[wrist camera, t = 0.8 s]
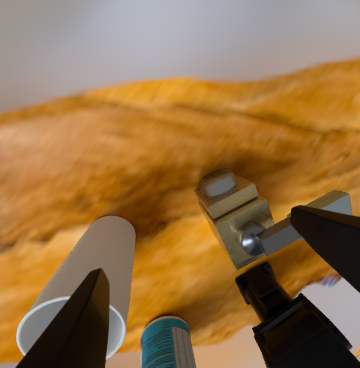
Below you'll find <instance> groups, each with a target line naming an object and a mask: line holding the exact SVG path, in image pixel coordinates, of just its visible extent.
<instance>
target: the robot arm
mask: <svg viewBox="0 0 360 368" xmlns="http://www.w3.org/2000/svg"><path fill="white" fill-rule="evenodd" d="M290 223H291V225H292V227H293V228H294V229H295V230H296V231H297V232H298V233H299V234H300V235H301V236H302V238H303V239H304V240H305V241H306V242H307V243H308V244H309V245H310V246H311V247H312V248H313V249H314V250H315V252H316V253H317V254H319V255H320V256H321V257H322V258H323V259H324V260H325V261H326V262H327V263H328V264H329V265H330V266H331V267H332V268H333V269H335V270H336V271H337V272H338V273H339V274H340V275H341V276H342V277H343V278H344V279H345V280H346V281H348V282H349V283H350V284H351V285H352V286H353V287H354V288H355V289H356V290H357V291H358V292H360V217H357V216H352V215H347V214H342V213H337V212H333V211H328V210H323V209H318V208H313V207H308V206H303V205H299V206H295V207H293V208H292V209H291V216H290ZM235 282H236V284H237V286H238V288H239V290H240V292H241V294H242V296H243V298H244V300H245V302H246V303H247V304H248V305H249V304H251V306H252V307H253V309H254V311H255V312H256V314H257V316H258V317H259V319H260V321H261V323H260V324H259V325H257V326H256V327H255V326H254V327H253V328H252V330H253V332H254V334H255V335H254V338H255V340H256V342H257V344H258V346H259V348H260V350H261V352H262V355H263V358H264V361H265V364H266V367H267V368H360V362H359V361H358V360H357V359H356V357H355V356H354V355H353V354H352V353H351V352H350V351H349V350H350V349H351V348H352V345H351V344H350V343H349V341H348V340H347V339H346V338H345V336H344V335H343V334H342V333H341V332H340V331H339V330H338V328H337V327H336V326H335V325H334V324H333V323H332V322H331V321H330V320H329V319H328V318H327V317H326V316H325V315H324V314H323V313H322V312H321V311H320V310H319V309H318V308H317V307H316V306H315V305H313V304H312V303H311V302H310V301H309V300H308V299H307V298H306V297H305V296H304V295H303V294H302V293H300V294H299V295H298V297H296V298H295V299H292V298H291V297H290V295H289V294H288V293H287V292H286V291H285V290H284V289H283V287H282V286H281V285H280V284H279V283H278V282H277V281H276V278H275V275H274V273H273V270H272V267H271V265H270V264H269V263H268V262H266V263H264V264H262V265H260V266H258V267H257V268H255V269H253V270H251V271H249V272H247V273H245V274H244V275H242V276H240V277H238V278H236V280H235ZM109 308H110V284H109V280H108V278H107V276H106V274H105V272H104V270H103V269H102V268H98V269H95V270H92V271H90V272H89V273H88V275H87V276H86V277H85V279H84V280H83V281H82V282H81V284H80V285H79V286H78V288H77V289H76V290H75V291H74V293H73V294H72V295H71V297H70V298H69V299H68V300H67V302H66V303H65V304H64V306H63V307H62V308H61V310H60V311H59V312H58V313H57V315H56V316H55V317H54V319H53V320H52V321H51V322H50V324H49V325H48V326H47V328H46V329H45V330H44V331H43V333H42V334H41V335H40V337H39V338H38V339H37V340H36V342H35V343H34V344H33V346H32V347H31V348H30V350H29V351H28V352H27V353H26V355H25V356H24V357H23V359H22V360H21V361H20V362H19V364H18V365H17V366H16V368H105V363H106V354H107V345H108V336H109Z"/></svg>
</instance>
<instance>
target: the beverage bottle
mask: <svg viewBox="0 0 360 368" xmlns="http://www.w3.org/2000/svg"><path fill="white" fill-rule="evenodd" d="M141 368H196V364H195V359H194V354H193V349H192V344H191V339H190V332H189V327H188V325H187V323H186V322H185V321H184V320H183V319H181V318H179V317H177V316H163V317H159V318H157V319H155V320H153V321H152V322H150V323H149V324H148V325H147V326H146V327H145V329H144V331H143V333H142V336H141Z"/></svg>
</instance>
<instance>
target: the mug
mask: <svg viewBox="0 0 360 368" xmlns="http://www.w3.org/2000/svg"><path fill="white" fill-rule="evenodd" d="M135 240H136V233H135V230H134V227H133V226H132V224H131V223H130V222H129V221H127V220H126V219H124V218H122V217H118V216H105V217H101V218H99V219H97V220H96V221H94V222H93V223H92V224H91V225H90V227H89V228H88V229H87V231H86V232H85V233H84V235H83V236H82V237H81V239H80V240H79V241H78V243H77V244H76V246H75V247H74V248H73V250H72V251H71V252H70V254H69V255H68V257H67V258H66V259H65V261H64V262H63V263H62V265H61V266H60V267H59V269H58V270H57V272H56V273H55V274H54V276H53V277H52V278H51V280H50V281H49V282H48V284H47V285H46V287H45V288H44V289H43V291H42V292H41V294H40V295H39V296H38V298H37V299H36V301H35V302H34V304H33V306H32V307H31V309H30V310H29V311H28V313H27V314H26V315H25V316H24V318H23V319H22V320H21V322H20V324H19V326H18V329H17V334H16V339H17V344H18V347H19V349H20V350H21V352H22V353H23V354H24V356H25V355H26V353H27V352H28V351H29V350H30V348H31V347H32V346H33V344H34V343H35V342H36V340H37V339H38V338H39V337H40V335H41V334H42V333H43V331H44V330H45V329H46V328H47V326H48V325H49V324H50V322H51V321H52V320H53V319H54V317H55V316H56V315H57V313H58V312H59V311H60V310H61V308H62V307H63V306H64V304H65V303H66V302H67V300H68V299H69V298H70V297H71V295H72V294H73V293H74V291H75V290H76V289H77V288H78V286H79V285H80V284H81V282H82V281H83V280H84V279H85V277H86V276H87V275H88V273H89V272H90V271H92V270H95V269H98V268H102V269H103V270H104V272H105V274H106V276H107V278H108V280H109V284H110V308H109V336H108V345H107V354H106V359H108V358H109V357H110V356H112V355H113V354H114V353H115V352H116V351H117V350H118V349H119V347H120V346H121V345H122V343H123V341H124V338H125V335H126V325H127V317H128V310H129V302H130V292H131V282H132V272H133V262H134V253H135Z"/></svg>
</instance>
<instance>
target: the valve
mask: <svg viewBox="0 0 360 368" xmlns="http://www.w3.org/2000/svg"><path fill="white" fill-rule="evenodd" d="M199 187H200V188H199V189H197V190H195V193H196V195H197V197H198V200H199V201H200V202H198V203H199V205H200V207H201V209H202V211H203V213H204V215H205V217H206V219H207V221H208V223H209V225H210V227H211V229H212V231H213V233H214V235H215V237H216V238H217V240H218V241H219V243H220V245H221V246H222V248H223V249H224V251H225V252H226V254H227V255H228V257H229V258H230V260H231V261H232V263H233V265H234V266H235V267H236V269H237V270H238V269H240V268H242V267H244V266H246V265H248V264H250V263H251V262H253V261H255V260H257V259H259V258H261V257H262V256H264V255H266V254H265V253H263V254H261V255H258V256H251V255H248V254H247V253H246V252H245V251H244V250H243V249H242V247H241V246H240V245H239V243H238V241H237V236H238V233H239V231H240V230H241V228H242V227H243V226H245V225H246V224H248V223H252V222H257V223H260V224H261V225H262V226H264V227H265V228H266V229H267V228H269V227H271V226H273V225H275V224H274V221H273V218H272V215H271V212H270V209H269V206H268V203H267V200H266V199H265V198H264V197H262V196H260V195H258V192H257V189H256V186H255V183H253V182H251V181H249V180H247V179H245V178H242V177H240V176H238V175H236V174H234V173H233V171H232V170H231V169H222V170H218V171H215V172H212V173H210V174H208V175H207V176H205V177H204V178H202V179H201V180H200V182H199Z"/></svg>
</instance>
